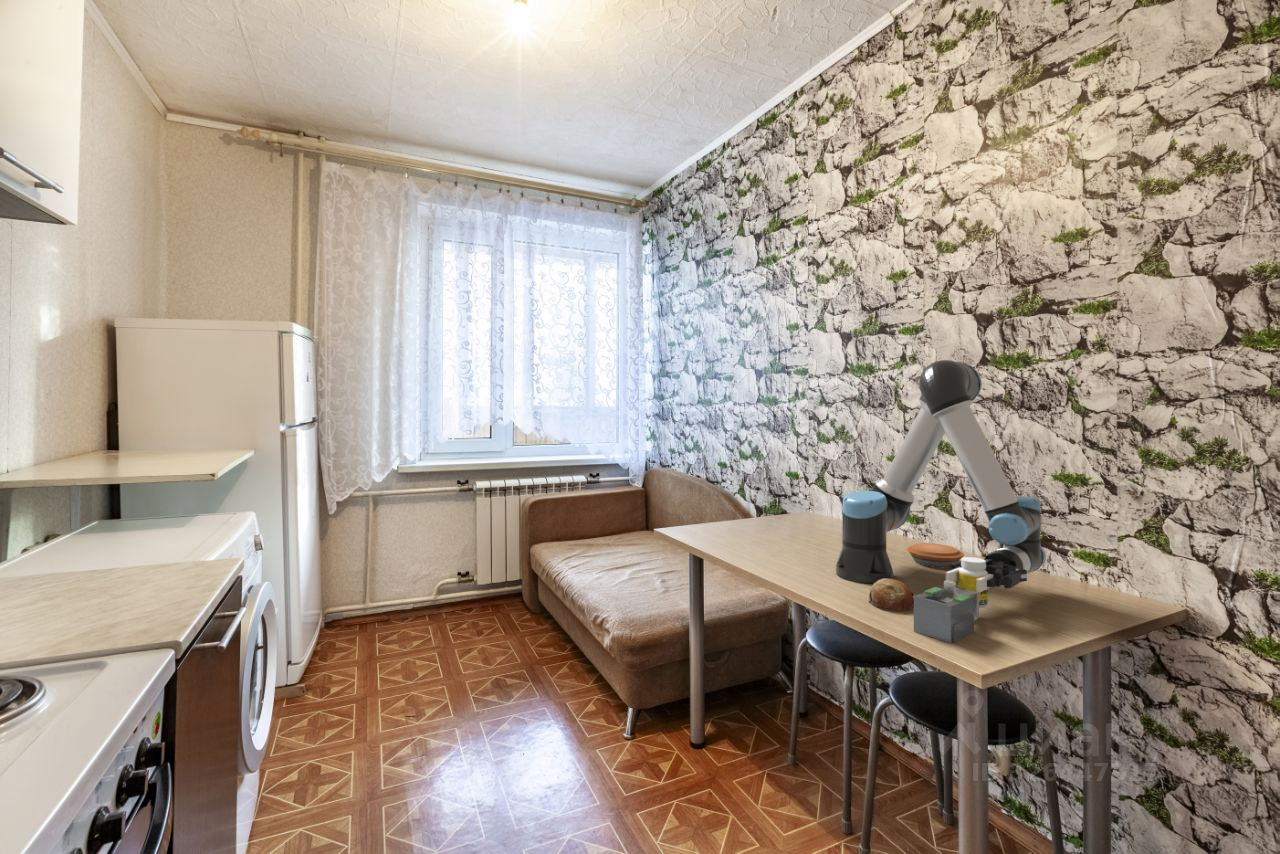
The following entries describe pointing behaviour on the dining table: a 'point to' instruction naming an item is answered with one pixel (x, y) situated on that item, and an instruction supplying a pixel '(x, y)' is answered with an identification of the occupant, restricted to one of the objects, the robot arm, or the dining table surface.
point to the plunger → (954, 591)
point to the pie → (934, 554)
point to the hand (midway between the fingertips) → (962, 582)
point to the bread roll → (891, 595)
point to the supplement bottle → (973, 576)
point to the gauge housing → (943, 615)
